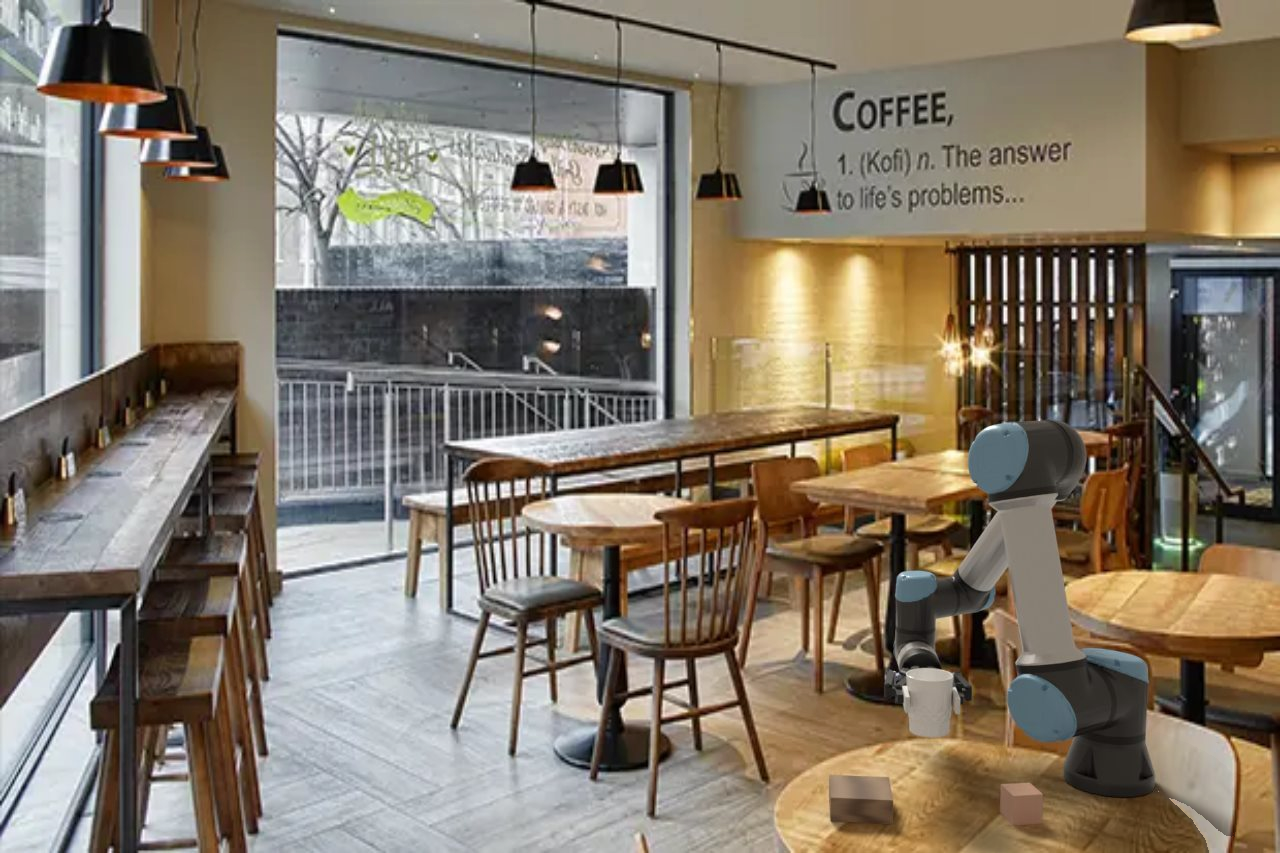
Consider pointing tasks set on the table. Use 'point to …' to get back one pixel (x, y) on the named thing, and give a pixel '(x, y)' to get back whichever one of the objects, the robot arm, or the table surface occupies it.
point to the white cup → (929, 701)
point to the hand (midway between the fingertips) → (932, 705)
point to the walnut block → (860, 799)
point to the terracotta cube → (1021, 803)
